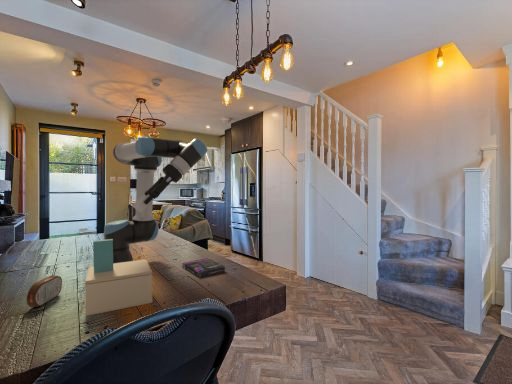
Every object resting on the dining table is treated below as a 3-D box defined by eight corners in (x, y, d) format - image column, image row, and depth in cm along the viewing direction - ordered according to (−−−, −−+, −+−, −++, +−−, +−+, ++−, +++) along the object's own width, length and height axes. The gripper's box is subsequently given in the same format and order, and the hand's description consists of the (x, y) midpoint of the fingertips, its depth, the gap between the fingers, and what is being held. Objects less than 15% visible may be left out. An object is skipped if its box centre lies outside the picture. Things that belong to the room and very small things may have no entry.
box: (182, 269, 136) (198, 279, 120) (182, 262, 136) (197, 271, 120) (207, 264, 144) (225, 272, 128) (207, 257, 144) (225, 265, 128)
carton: (146, 286, 111) (146, 262, 111) (152, 302, 95) (151, 274, 95) (89, 295, 101) (89, 269, 101) (85, 315, 85) (85, 284, 85)
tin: (55, 293, 104) (55, 272, 104) (64, 293, 104) (63, 271, 104) (25, 311, 89) (25, 286, 89) (35, 311, 89) (35, 286, 89)
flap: (146, 261, 111) (145, 232, 110) (151, 273, 95) (151, 240, 94) (89, 269, 101) (88, 237, 101) (85, 284, 85) (84, 246, 85)
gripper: (190, 174, 97) (147, 218, 90) (176, 177, 119) (140, 213, 112) (175, 159, 94) (129, 203, 88) (163, 165, 116) (126, 201, 109)
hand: (135, 209), depth 100 cm, fingers open, 13 cm apart
